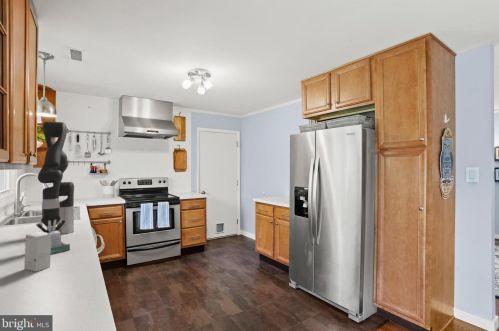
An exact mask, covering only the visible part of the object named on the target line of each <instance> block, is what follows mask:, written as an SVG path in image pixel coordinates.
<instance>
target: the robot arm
mask: <svg viewBox="0 0 499 331" xmlns="http://www.w3.org/2000/svg"><path fill="white" fill-rule="evenodd" d="M42 132H43V136H44V140H45V143H46V147H47V150H46V151H45V155H44V162H43V165H42V166H41V168H40V170H39V172H38V173H37V180H38V183H39V182H40V183H41V184H52V186H50V187H45V188H43V189H42V202H41V220H40V221H39V223H36V224H35V226H36V227H37V228H39V230H41V232H45V233H48V232H51V231H59V232H60V233H61V235H65V234H71V233H73V232H75V227H74V226H75V219H74V218H75V215H74V214H75V212H74V211H75V210H74V207H75V206H74V199H75V198H74V197H75V196H74V195H75V194H74V193H75V185H74V182H73V181H63V177H64V173H65V171H66V170H67V169H68V166H69V162H68V155H67V154H66V152H65V151H64V150H63V148H64V146H65V141H66V138H67V133H68V129H67V124H66V123H65V122H61V121H44V122H43V123H42ZM54 138H57V139H56V140H54ZM62 181H63V182H62ZM60 197H67V198H65V199H63V200H61V201H60ZM43 226H45V227H46V228H45V227H43Z"/></svg>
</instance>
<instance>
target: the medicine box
mask: <svg viewBox="0 0 499 331" xmlns="http://www.w3.org/2000/svg"><path fill="white" fill-rule="evenodd" d="M48 233H49V234H51V248H52V247H57V246H61V242H62V234H61V233H60V232H59V231H51V232H48Z"/></svg>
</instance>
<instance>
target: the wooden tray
mask: <svg viewBox="0 0 499 331" xmlns="http://www.w3.org/2000/svg"><path fill="white" fill-rule="evenodd" d="M70 250H71V244H70V243H68V244H67V243H64V242H63V241H61V246H57V247H52V248H51V253H50V255H54V254H55V255H56V254H58V253H63V252H68V251H70Z"/></svg>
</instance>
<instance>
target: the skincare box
mask: <svg viewBox="0 0 499 331" xmlns="http://www.w3.org/2000/svg"><path fill="white" fill-rule="evenodd" d="M24 243H25V246H24V247H25V248H24V263H23V264H24V266H23V268H24V270H27V271H32V272H40V271H42V270H46V269H48V268H51V254H50V253H51V234H49V233H45V232H43V231H37V232H32V233H26V234H25V242H24Z"/></svg>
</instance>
